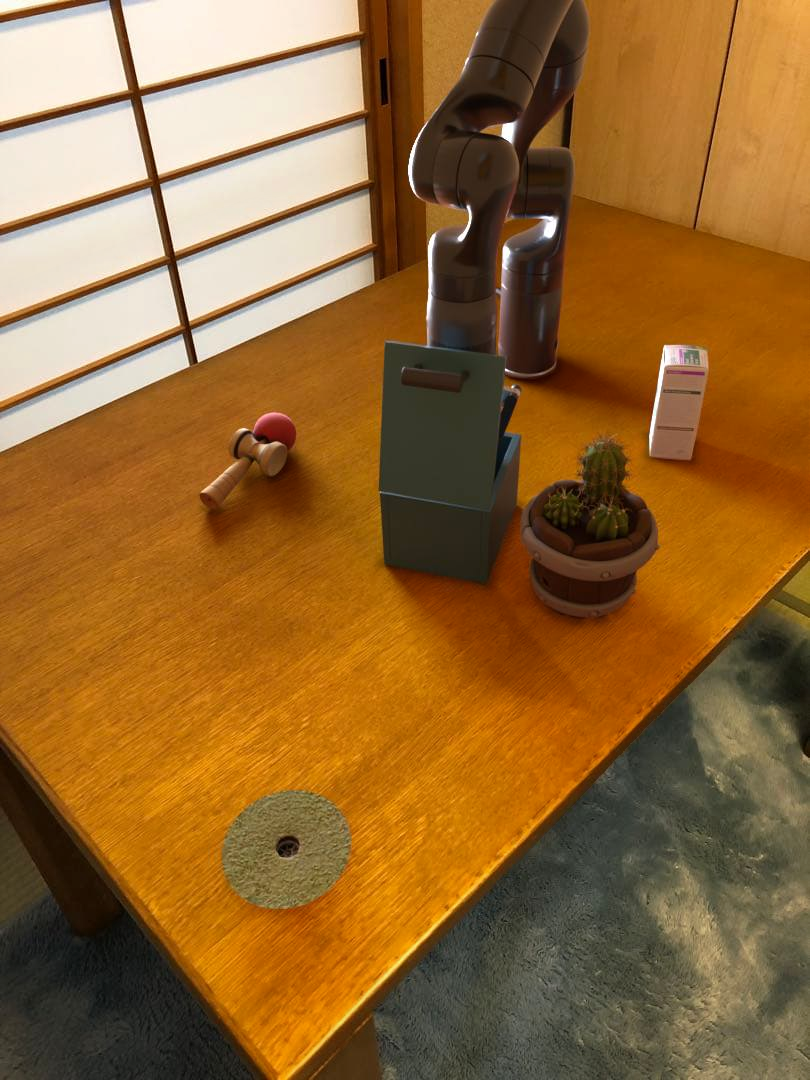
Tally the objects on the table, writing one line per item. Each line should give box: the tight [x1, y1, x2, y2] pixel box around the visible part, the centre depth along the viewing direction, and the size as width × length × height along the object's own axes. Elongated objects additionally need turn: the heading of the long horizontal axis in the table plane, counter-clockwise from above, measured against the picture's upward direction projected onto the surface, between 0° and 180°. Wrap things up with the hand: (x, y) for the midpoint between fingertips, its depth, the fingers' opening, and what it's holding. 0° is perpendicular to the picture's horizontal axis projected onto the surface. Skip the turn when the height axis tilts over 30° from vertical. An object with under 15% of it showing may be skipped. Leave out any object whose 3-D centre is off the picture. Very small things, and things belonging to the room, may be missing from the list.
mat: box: [220, 789, 352, 910], centre depth 77 cm, size 11×11×2 cm
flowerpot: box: [520, 429, 660, 620], centre depth 95 cm, size 14×15×20 cm
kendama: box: [199, 412, 297, 511], centre depth 119 cm, size 8×6×18 cm
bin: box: [379, 431, 522, 586], centre depth 106 cm, size 16×13×11 cm
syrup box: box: [649, 344, 710, 461], centre depth 118 cm, size 6×6×14 cm
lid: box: [378, 340, 507, 510], centre depth 91 cm, size 17×13×5 cm
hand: (460, 456), depth 106 cm, fingers open, 4 cm apart
